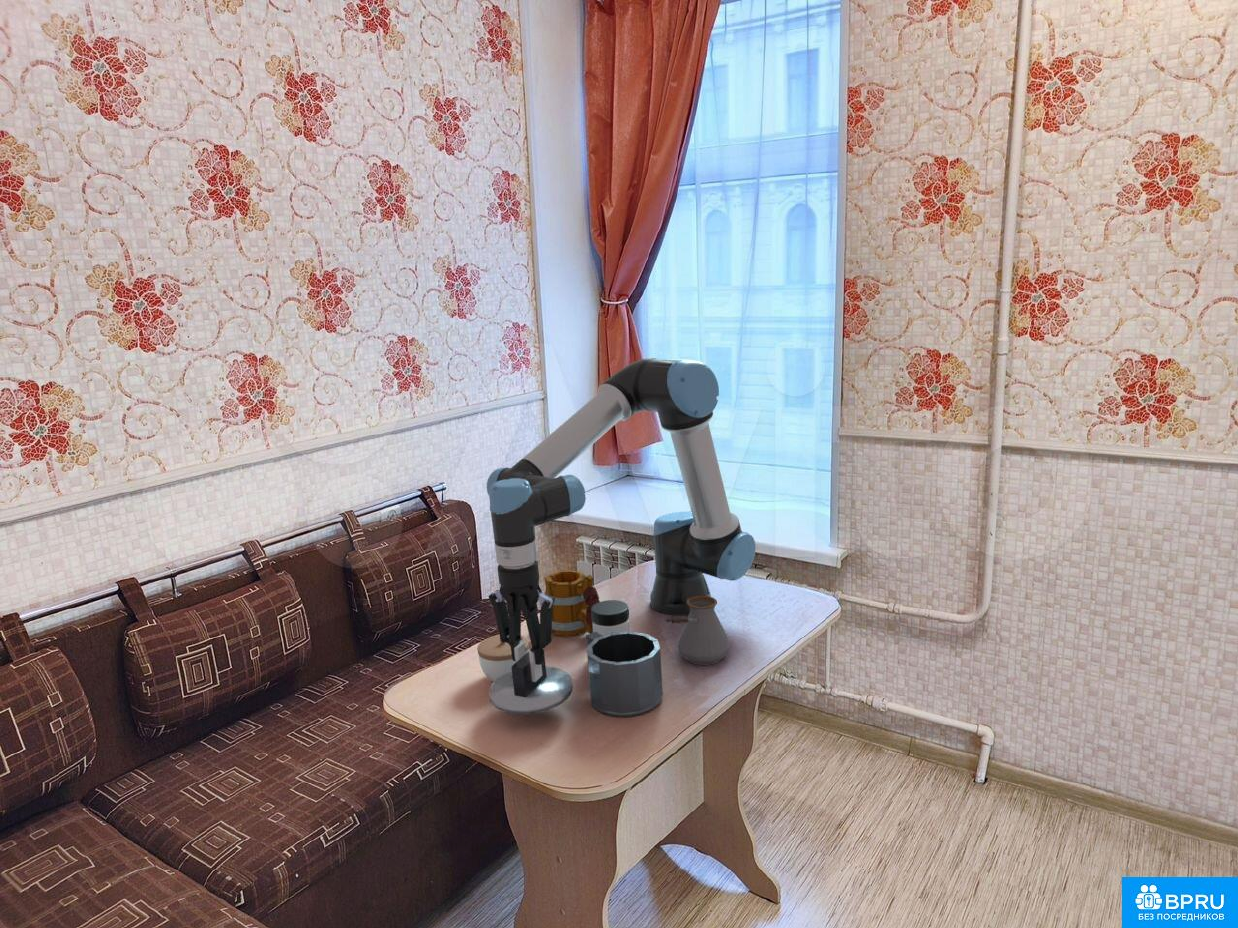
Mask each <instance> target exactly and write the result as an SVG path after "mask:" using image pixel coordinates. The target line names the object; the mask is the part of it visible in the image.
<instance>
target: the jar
mask: <svg viewBox="0 0 1238 928" xmlns="http://www.w3.org/2000/svg"><path fill="white" fill-rule="evenodd" d="M591 618H592V624H593V632H597V633H599V634H601V635H602V636H604V635H607V634H610V633H617V632H627V631H630V632H631V629H630V619H629V618H630V610H629V605H628V603H626V602H625V601H622V600H614V599H611V600H610V599H607V600H603V601H600V602H598V603H596V604H594V605H593V606H592V607H591Z"/></svg>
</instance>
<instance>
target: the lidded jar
mask: <svg viewBox="0 0 1238 928" xmlns="http://www.w3.org/2000/svg"><path fill="white" fill-rule="evenodd" d="M521 637H522V638H523V639H522V640H521V641H520V643H521V642H525V650H526V653H527V652H529V650H530V648H529V647H530V643H529V640H528V638H527V637H526V636H523V635H522V634H521ZM477 654H478V661H479V666H480V668H481V671H482V673H483V674H484V676H486V677H487V679H489V680H490V681H491V682H492V684H493V683H494V682H495V681H496V680H497V679H498V678H499V677H501V676H503V675H504V674H506V673H509V672H511V671H512V668H511V667H512V666H513V665H514V664H515V663H516V661H513V659H512V653H511V646H510V645H509V644H508V643H506V642H505V643H503V642H501V640H500V635H499V634H496V635H492V636H490V637H487V638H485V639H483V640H482V641H480V643H479V644H477Z"/></svg>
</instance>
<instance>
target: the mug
mask: <svg viewBox="0 0 1238 928" xmlns="http://www.w3.org/2000/svg"><path fill="white" fill-rule="evenodd" d="M544 584H545V591H544V595H546V596H547V597H550V596H553V597H554V598H555V601H554V604H553V606H552V635H556V636H561V637H569V636H570V637H572V636H578V635H581V634H583V633H585V632H587V633H588V634H591V633H593V624H592V618H591V607H592V606H593V605H594V604H596V603H598V602H601V601H600V597H599V593H598V591H597V588H596V587H594V586H593V585H594V577H593V576H592V575H591V574H588V575H587V576H586V574H584V572H581V571H578V570H577V571H576V570H571V569H569V570H568V569H566V570H559V571H555V572H552V573H550V574H548V575H547V576H545V577H544Z"/></svg>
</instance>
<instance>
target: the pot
mask: <svg viewBox="0 0 1238 928" xmlns="http://www.w3.org/2000/svg"><path fill="white" fill-rule="evenodd" d="M585 639H586V640H585V641H586V645H587V646H586V653H587V655H586V656H587V666H588V681H589V694H590V702H591V705H592V708H593V709H594V710H596V712H598V713H599V714H600V713H601V714H602V715H605V716H608V717H613V718H633V717H637V716H643V715H645V714H648V713H650V712H652V711H654V710H655V709H656V708H658V707H659V706H660V704H661V703H662V701H663V695H664V694H663V678H662V677H663V674H662V659H661V658H662V657H661V655H662V654H661V647H660V643H659V639H657V638H655V637H654V636H651V635H650V634H647V633H643V632H637V631H636V632H635V631H631V630H630V631H627V632H617V633H610V634H607V635H604V636H602V635H601V634H599V633H597V632H593V633H591V634H589V633H588V634H586V635H585Z"/></svg>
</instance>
